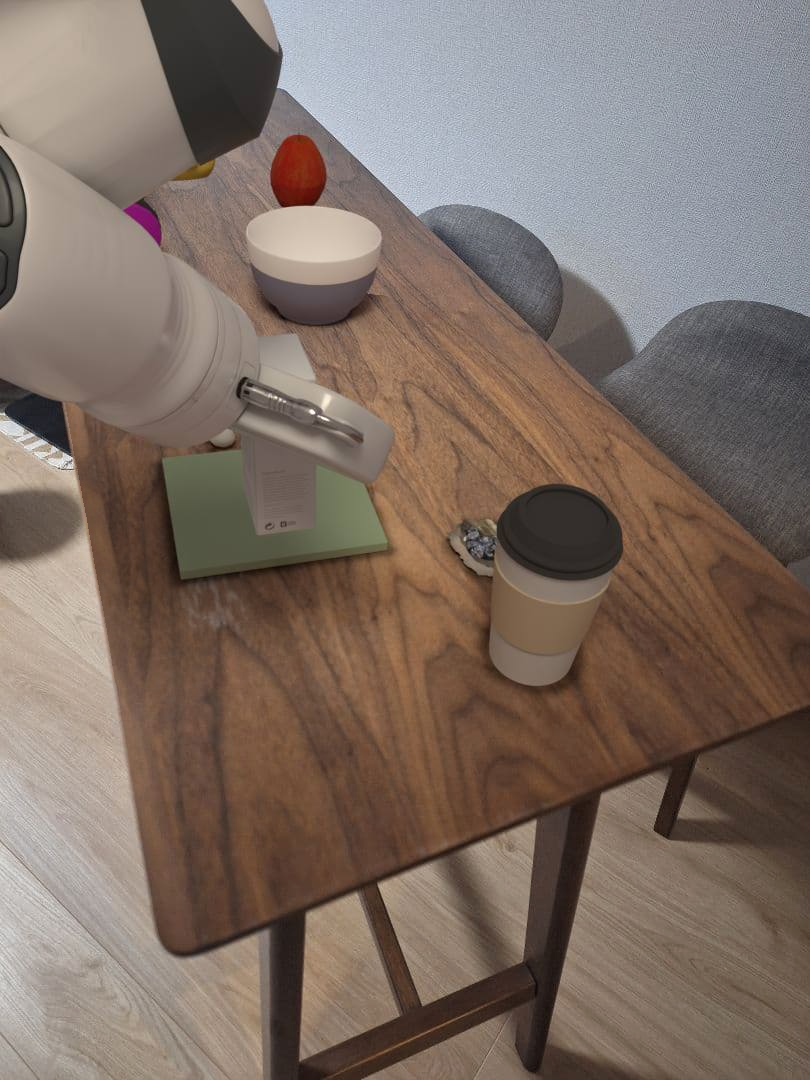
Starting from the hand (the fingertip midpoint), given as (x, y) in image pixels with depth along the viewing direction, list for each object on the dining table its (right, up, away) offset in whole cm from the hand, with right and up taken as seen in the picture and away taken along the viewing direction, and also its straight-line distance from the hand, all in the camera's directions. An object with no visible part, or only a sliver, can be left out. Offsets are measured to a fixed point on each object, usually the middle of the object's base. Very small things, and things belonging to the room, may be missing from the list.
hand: (281, 425), depth 61 cm
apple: (-8, +42, +76) cm, 87 cm away
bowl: (-3, +21, +53) cm, 57 cm away
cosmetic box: (-1, -5, +4) cm, 7 cm away
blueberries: (+16, -9, +21) cm, 28 cm away
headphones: (-30, +33, +63) cm, 78 cm away
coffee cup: (+18, -17, +13) cm, 28 cm away
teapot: (-28, +50, +82) cm, 100 cm away
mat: (-4, -5, +24) cm, 25 cm away
